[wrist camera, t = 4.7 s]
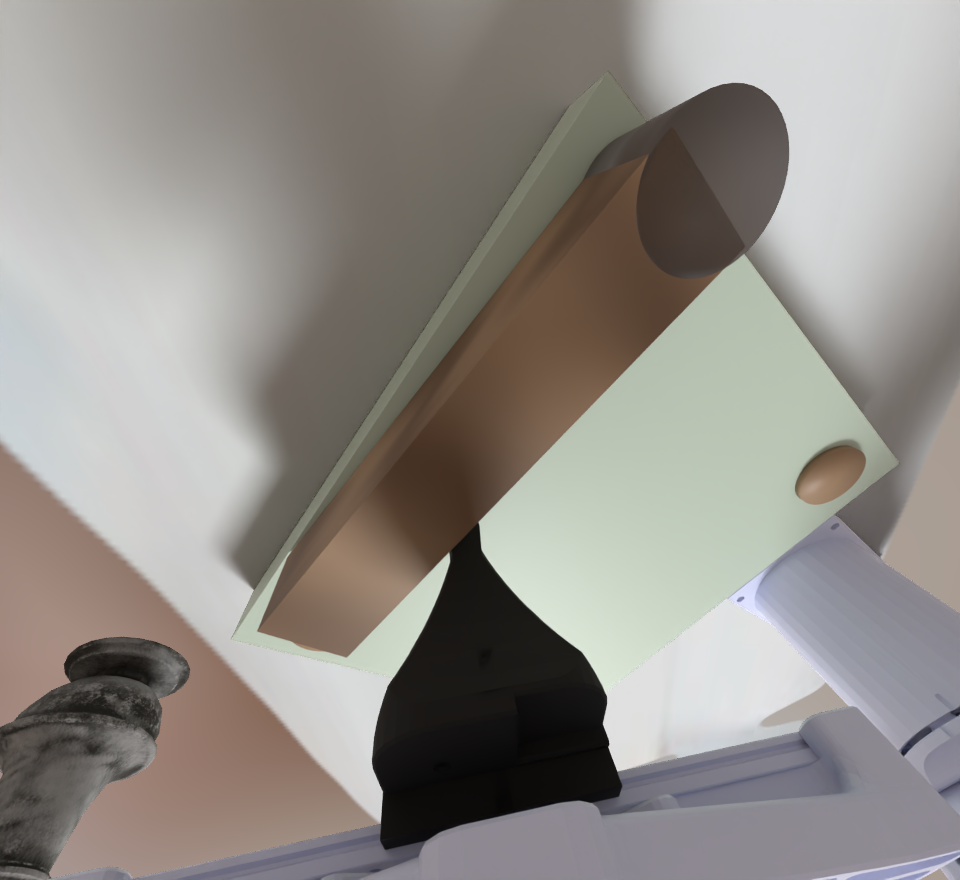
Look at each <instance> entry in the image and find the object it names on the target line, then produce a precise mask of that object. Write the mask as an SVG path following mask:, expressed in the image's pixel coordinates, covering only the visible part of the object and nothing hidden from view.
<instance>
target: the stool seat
mask: <svg viewBox="0 0 960 880" xmlns="http://www.w3.org/2000/svg"><path fill="white" fill-rule="evenodd" d="M644 123H646V121H645V119H644V118H643V117H642V115H641V114H640V113H639V111H638V110H637V109H636V107H635V106H634V105H633V103H632V102H631V101H630V99H629V98H628V97H627V95H626V94H625V92H624V91H623V90H622V88H621V87H620V86H619V84H618V83H617V82H616V80H615V79H614V78H613V76H612V75H611V74H610V72H609V71H607V72H606V73H605V74H604V75H603V76H602V77H601V78H600V79H598V80H597V81H596V82H595V83H594V84H593V85H592V86H591V87H590V88H588V89H587V90H586V91H585V92H584V93H583V94H582V95H581V96H580V97H579V98H577V99H576V100H575V101H574V102H573V103H572V104H571V105H570V106H569V107H568V108H567V110H566V111H565V113H564V115H563V116H562V118H561V119H560V121H559V122H558V124H557V125H556V127H555V128H554V130H553V131H552V133H551V135H550V136H549V138H548V139H547V141H546V142H545V144H544V145H543V147H542V148H541V150H540V151H539V153H538V154H537V156H536V158H535V159H534V161H533V162H532V164H531V165H530V167H529V168H528V170H527V171H526V173H525V174H524V176H523V178H522V179H521V181H520V182H519V184H518V185H517V187H516V188H515V190H514V191H513V193H512V194H511V196H510V198H509V199H508V201H507V202H506V204H505V205H504V207H503V208H502V210H501V211H500V213H499V214H498V216H497V218H496V219H495V221H494V222H493V224H492V225H491V227H490V228H489V230H488V231H487V233H486V234H485V236H484V238H483V239H482V241H481V242H480V244H479V245H478V247H477V248H476V250H475V251H474V253H473V254H472V256H471V257H470V259H469V261H468V262H467V264H466V265H465V267H464V268H463V270H462V271H461V273H460V274H459V276H458V277H457V279H456V281H455V282H454V284H453V285H452V287H451V288H450V290H449V291H448V293H447V294H446V296H445V297H444V299H443V301H442V302H441V304H440V305H439V307H438V308H437V310H436V311H435V313H434V314H433V316H432V317H431V319H430V321H429V322H428V324H427V325H426V327H425V328H424V330H423V331H422V333H421V334H420V336H419V337H418V339H417V340H416V342H415V344H414V345H413V347H412V348H411V350H410V351H409V353H408V354H407V356H406V357H405V359H404V360H403V362H402V364H401V365H400V367H399V368H398V370H397V371H396V373H395V374H394V376H393V377H392V379H391V380H390V382H389V384H388V385H387V387H386V388H385V390H384V391H383V393H382V394H381V396H380V397H379V399H378V400H377V402H376V404H375V405H374V407H373V408H372V410H371V411H370V413H369V414H368V416H367V417H366V419H365V420H364V422H363V424H362V425H361V427H360V428H359V430H358V431H357V433H356V434H355V436H354V437H353V439H352V440H351V442H350V443H349V445H348V447H347V448H346V450H345V451H344V453H343V454H342V456H341V457H340V459H339V460H338V462H337V463H336V465H335V467H334V468H333V470H332V471H331V473H330V474H329V476H328V477H327V479H326V480H325V482H324V483H323V485H322V487H321V488H320V490H319V491H318V493H317V494H316V496H315V497H314V499H313V500H312V502H311V503H310V505H309V507H308V508H307V510H306V511H305V513H304V514H303V516H302V517H301V519H300V520H299V522H298V523H297V525H296V526H295V528H294V530H293V531H292V533H291V534H290V536H289V537H288V539H287V540H286V542H285V543H284V545H283V546H282V548H281V550H280V551H279V553H278V554H277V556H276V557H275V559H274V560H273V562H272V563H271V565H270V566H269V568H268V570H267V571H266V573H265V574H264V576H263V577H262V579H261V580H260V582H259V583H258V585H257V586H256V588H255V590H254V591H253V593H252V595H251V598H250V600H249V602H248V604H247V606H246V608H245V610H244V613H243V615H242V617H241V619H240V621H239V623H238V625H237V628H236V630H235V632H234V634H233V636H232V638H231V640H233V641H237V642H242V643H246V644H250V645H254V646H259V647H263V648H267V649H272V650H276V651H280V652H284V653H289V654H293V655H297V656H302V657H306V658H310V659H314V660H319V661H323V662H327V663H331V664H336V665H340V666H344V667H349V668H353V669H357V670H361V671H366V672H370V673H374V674H378V675H383V676H387V677H391V678H394V676H395V675H396V673H397V672H398V670H399V669H400V667H401V666H402V664H403V663H404V661H405V659H406V658H407V656H408V655H409V653H410V651H411V649H412V648H413V646H414V644H415V642H416V640H417V639H418V637H419V635H420V633H421V632H422V630H423V628H424V626H425V624H426V622H427V620H428V618H429V616H430V613H431V611H432V609H433V607H434V605H435V603H436V600H437V598H438V595H439V593H440V590H441V588H442V585H443V582H444V579H445V576H446V573H447V570H448V567H449V563H450V556H449V553H448V554H447V555H446V556H445V557H444V558H443V559H442V560H441V561H440V562H439V563H438V564H437V565H436V566H435V567H434V569H433V570H432V571H431V572H430V573H429V574H428V575H427V576H426V577H425V578H424V579H423V580H422V581H421V582H420V583H419V584H418V585H417V586H416V587H415V588H414V589H413V590H412V591H411V592H410V593H409V594H408V595H407V596H406V597H405V598H404V599H403V600H402V601H401V602H400V604H399V605H398V606H397V607H396V608H395V609H394V610H393V611H392V612H391V613H390V614H389V615H388V616H387V617H386V618H385V619H384V620H383V621H382V622H381V623H380V624H379V625H378V626H377V627H376V628H375V629H374V630H373V631H372V632H371V633H370V634H369V635H368V636H367V638H366V639H365V640H364V641H363V642H362V643H361V644H360V645H359V646H358V647H357V648H356V649H355V650H354V651H353V652H352V653H351V654H350V655H349V656H348V657H347V658H346V657H342V656H339V655H335V654H332V653H329V652H325V651H322V650H318V649H315V648H311V647H308V646H305V645H301V644H298V643H294V642H291V641H287V640H284V639H281V638H277V637H274V636H270V635H267V634H263V633H260V632H257V630H258V628H259V625H260V623H261V620H262V618H263V615H264V613H265V611H266V608H267V606H268V603H269V601H270V598H271V596H272V593H273V591H274V589H275V586H276V584H277V581H278V579H279V576H280V574H281V571H282V569H283V566H284V564H285V562H286V559H287V557H288V556H289V554H290V553H291V552H292V550H293V549H294V548H295V547H296V545H297V544H298V543H299V542H300V540H301V539H302V538H303V536H304V535H305V534H306V533H307V531H308V530H309V529H310V528H311V526H312V525H313V524H314V522H315V521H316V520H317V519H318V517H319V516H320V515H321V514H322V512H323V511H324V510H325V508H326V507H327V506H328V505H329V503H330V502H331V501H332V499H333V498H334V497H335V496H336V494H337V493H338V492H339V491H340V489H341V488H342V487H343V485H344V484H345V483H346V482H347V480H348V479H349V478H350V477H351V475H352V474H353V473H354V471H355V470H356V469H357V468H358V466H359V465H360V464H361V463H362V461H363V460H364V459H365V457H366V456H367V455H368V454H369V452H370V451H371V450H372V449H373V447H374V446H375V445H376V443H377V442H378V441H379V440H380V438H381V437H382V436H383V434H384V433H385V432H386V431H387V429H388V428H389V427H390V426H391V424H392V423H393V422H394V420H395V419H396V418H397V417H398V415H399V414H400V413H401V412H402V410H403V409H404V408H405V406H406V405H407V404H408V403H409V401H410V400H411V399H412V398H413V396H414V395H415V394H416V392H417V391H418V390H419V389H420V387H421V386H422V385H423V384H424V382H425V381H426V380H427V378H428V377H429V376H430V375H431V373H432V372H433V371H434V369H435V368H436V367H437V366H438V364H439V363H440V362H441V361H442V359H443V358H444V357H445V355H446V354H447V353H448V352H449V350H450V349H451V348H452V347H453V345H454V344H455V343H456V341H457V340H458V339H459V338H460V336H461V335H462V334H463V333H464V331H465V330H466V329H467V327H468V326H469V325H470V324H471V322H472V321H473V320H474V318H475V317H476V316H477V315H478V313H479V312H480V311H481V310H482V308H483V307H484V306H485V304H486V303H487V302H488V301H489V299H490V298H491V297H492V296H493V294H494V293H495V292H496V290H497V289H498V288H499V287H500V285H501V284H502V283H503V282H504V280H505V279H506V278H507V276H508V275H509V274H510V273H511V271H512V270H513V269H514V268H515V266H516V265H517V264H518V262H519V261H520V260H521V259H522V257H523V256H524V255H525V253H526V252H527V251H528V250H529V248H530V247H531V246H532V245H533V243H534V242H535V241H536V239H537V238H538V237H539V236H540V234H541V233H542V232H543V231H544V229H545V228H546V227H547V225H548V224H549V223H550V222H551V220H552V219H553V218H554V217H555V215H556V214H557V213H558V211H559V210H560V209H561V208H562V206H563V205H564V204H565V203H566V201H567V200H568V199H569V197H570V196H571V195H572V194H573V192H574V191H575V190H576V188H577V187H578V186H579V185H580V183H581V182H582V181H583V180H584V177H585V175H586V173H587V171H588V169H589V167H590V165H591V164H592V162H593V161H594V159H595V158H596V157H597V155H598V154H599V153H600V152H601V151H602V150H603V149H604V148H605V147H606V146H607V145H608V144H609V143H611V142H612V141H614V140H615V139H616V138H618V137H620V136H622V135H624V134H625V133H627V132H629V131H631V130H633V129H635V128H637V127H639V126H640V125H642V124H644ZM898 464H899V462H898V460H897V459H896V458H895V456H894V455H893V454H892V452H891V451H890V450H889V448H888V447H887V446H886V444H885V443H884V442H883V440H882V439H881V438H880V436H879V435H878V433H877V432H876V431H875V429H874V428H873V427H872V425H871V424H870V423H869V421H868V420H867V419H866V417H865V416H864V415H863V413H862V412H861V411H860V409H859V408H858V407H857V405H856V404H855V402H854V401H853V400H852V398H851V397H850V396H849V394H848V393H847V392H846V390H845V389H844V388H843V386H842V385H841V384H840V382H839V381H838V380H837V378H836V377H835V376H834V374H833V373H832V371H831V370H830V369H829V367H828V366H827V365H826V363H825V362H824V361H823V359H822V358H821V357H820V355H819V354H818V353H817V351H816V350H815V349H814V347H813V346H812V345H811V343H810V342H809V340H808V339H807V338H806V336H805V335H804V334H803V332H802V331H801V330H800V328H799V327H798V326H797V324H796V323H795V322H794V320H793V319H792V318H791V316H790V315H789V314H788V312H787V311H786V309H785V308H784V307H783V305H782V304H781V303H780V301H779V300H778V299H777V297H776V296H775V295H774V293H773V292H772V291H771V289H770V288H769V287H768V285H767V284H766V283H765V281H764V280H763V278H762V277H761V276H760V274H759V273H758V272H757V270H756V269H755V268H754V266H753V265H752V264H751V262H750V261H749V260H748V258H747V257H746V256H745V254H743V255H742V256H741V257H740V258H739V259H737V260H736V261H735V262H734V263H732V264H731V265H729V266H728V267H726V268H725V269H724V270H723V271H722V272H721V273H720V274H719V275H718V276H717V277H716V278H715V279H714V280H713V281H712V282H711V283H710V284H709V285H708V286H707V287H706V288H705V289H704V290H703V291H702V292H701V293H700V294H699V296H698V297H697V298H696V299H695V300H694V301H693V302H692V303H691V304H690V305H689V306H688V307H687V308H686V309H685V310H684V311H683V312H682V313H681V314H680V315H679V316H678V317H677V318H676V319H675V320H674V321H673V322H672V323H671V324H670V325H669V326H668V327H667V328H666V330H665V331H664V332H663V333H662V334H661V335H660V336H659V337H658V338H657V339H656V340H655V341H654V342H653V343H652V344H651V345H650V346H649V347H648V348H647V349H646V350H645V351H644V352H643V353H642V354H641V355H640V356H639V357H638V358H637V359H636V360H635V361H634V362H633V364H632V365H631V366H630V367H629V368H628V369H627V370H626V371H625V372H624V373H623V374H622V375H621V376H620V377H619V378H618V379H617V380H616V381H615V382H614V383H613V384H612V385H611V386H610V387H609V388H608V389H607V390H606V391H605V392H604V393H603V394H602V395H601V396H600V398H599V399H598V400H597V401H596V402H595V403H594V404H593V405H592V406H591V407H590V408H589V409H588V410H587V411H586V412H585V413H584V414H583V415H582V416H581V417H580V418H579V419H578V420H577V421H576V422H575V423H574V424H573V425H572V426H571V427H570V428H569V429H568V430H567V431H566V433H565V434H564V435H563V436H562V437H561V438H560V439H559V440H558V441H557V442H556V443H555V444H554V445H553V446H552V447H551V448H550V449H549V450H548V451H547V452H546V453H545V454H544V455H543V456H542V457H541V458H540V459H539V460H538V461H537V462H536V463H535V464H534V465H533V467H532V468H531V469H530V470H529V471H528V472H527V473H526V474H525V475H524V476H523V477H522V478H521V479H520V480H519V481H518V482H517V483H516V484H515V485H514V486H513V487H512V488H511V489H510V490H509V491H508V492H507V493H506V494H505V495H504V496H503V497H502V498H501V499H500V501H499V502H498V503H497V504H496V505H495V506H494V507H493V508H492V509H491V510H490V511H489V512H488V513H487V514H486V515H485V516H484V517H483V518H482V519H481V520H480V521H479V526H480V537H481V549H482V551H483V553H484V555H485V556H486V558H487V559H488V561H489V562H490V563H491V565H492V566H493V568H494V569H495V570H496V572H497V573H498V574H499V575H500V577H501V578H502V579H503V581H504V582H505V583H506V584H507V585H508V586H509V588H510V589H511V590H512V591H513V592H514V593H515V594H516V595H517V596H518V597H519V599H520V600H521V601H522V602H523V603H524V604H525V605H526V606H527V607H528V608H529V609H531V610H532V611H533V612H534V613H535V614H536V615H537V616H538V617H539V618H540V619H541V620H542V621H543V622H544V623H546V624H547V625H548V626H549V627H550V628H552V629H553V630H554V631H555V632H556V633H557V634H559V635H560V636H561V637H563V638H564V639H565V640H566V641H568V642H569V643H570V644H572V645H573V646H574V647H576V648H577V649H579V650H580V651H581V652H582V653H583V654H584V656H585V657H586V659H587V660H588V662H589V663H590V665H591V666H592V668H593V670H594V671H595V673H596V675H597V677H598V678H599V680H600V682H601V684H602V686H603V688H604V691H605V693H606V692H607V691H609V690H610V689H611V688H613V687H614V686H615V685H616V684H618V683H619V682H620V681H622V680H623V679H624V678H625V677H627V676H628V675H629V674H630V673H632V672H633V671H634V670H636V669H637V668H638V667H639V666H641V665H642V664H643V663H645V662H646V661H647V660H648V659H650V658H651V657H652V656H654V655H655V654H656V653H657V652H659V651H660V650H661V649H662V648H664V647H665V646H666V645H668V644H669V643H670V642H671V641H673V640H674V639H675V638H677V637H678V636H679V635H680V634H682V633H683V632H684V631H686V630H687V629H688V628H689V627H691V626H692V625H693V624H695V623H696V622H697V621H698V620H700V619H701V618H702V617H703V616H705V615H706V614H707V613H709V612H710V611H711V610H712V609H714V608H715V607H716V606H718V605H719V604H720V603H721V602H723V601H724V600H725V599H727V598H728V597H729V596H730V595H732V594H733V593H734V592H735V591H737V590H738V589H739V588H741V587H742V586H743V585H744V584H746V583H747V582H748V581H750V580H751V579H752V578H753V577H755V576H756V575H757V574H759V573H760V572H761V571H762V570H764V569H765V568H766V567H767V566H769V565H770V564H771V563H773V562H774V561H775V560H776V559H778V558H779V557H780V556H782V555H783V554H784V553H785V552H787V551H788V550H789V549H791V548H792V547H793V546H794V545H796V544H797V543H798V542H799V541H801V540H802V539H803V538H805V537H806V536H807V535H808V534H810V533H811V532H812V531H814V530H815V529H816V528H817V527H819V526H820V525H821V524H823V523H824V522H825V521H826V520H828V519H829V518H830V517H831V516H833V515H834V514H835V513H837V512H838V511H839V510H840V509H842V508H843V507H844V506H846V505H847V504H848V503H849V502H851V501H852V500H853V499H855V498H856V497H857V496H858V495H860V494H861V493H862V492H863V491H865V490H866V489H867V488H869V487H870V486H871V485H872V484H874V483H875V482H876V481H878V480H879V479H880V478H881V477H883V476H884V475H885V474H887V473H888V472H889V471H890V470H892V469H893V468H894V467H896V466H897V465H898Z"/></svg>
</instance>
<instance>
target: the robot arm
mask: <svg viewBox="0 0 960 880" xmlns="http://www.w3.org/2000/svg"><path fill="white" fill-rule="evenodd" d="M449 556H450V563H449V567H448V570H447V573H446V576H445V579H444V582H443V585H442V588H441V590H440V593H439V595H438V598H437V600H436V603H435V605H434V607H433V609H432V611H431V613H430V616H429V618H428V620H427V622H426V624H425V626H424V628H423V630H422V632H421V633H420V635H419V637H418V639H417V640H416V642H415V644H414V646H413V648H412V649H411V651H410V653H409V655H408V656H407V658H406V659H405V661H404V663H403V664H402V666H401V667H400V669H399V670H398V672H397V673H396V675H395V676H394V678H393V679H392V681H391V682H390V684H389V685H388V687H387V690H386V693H385V696H384V699H383V702H382V706H381V709H380V713H379V716H378V720H377V725H376V730H375V736H374V745H373V756H372V765H373V770H374V772H375V775H376V777H377V779H378V782H379V784H380V786H381V788H382V791H383V801H382V816H381V824H378V825H373V826H369V827H364V828H360V829H355V830H351V831H346V832H342V833H338V834H332V835H328V836H323V837H319V838H315V839H310V840H306V841H301V842H296V843H292V844H287V845H283V846H279V847H273V848H269V849H265V850H260V851H255V852H251V853H247V854H242V855H237V856H233V857H228V858H224V859H219V860H214V861H210V862H206V863H201V864H197V865H192V866H188V867H183V868H178V869H174V870H169V871H165V872H160V873H155V874H151V875H147V876H142V877H137V878H132V876H131V874H130V873H129V872H127V871H126V870H124V869H121V868H117V867H106V868H98V869H93V870H88V871H84V872H79V873H74V874H70V875H65V876H61V877H56V878H51V879H48V880H920V879H922V878H924V877H925V876H927V875H929V874H931V873H932V872H934V871H936V870H938V869H939V868H940V869H941V870H942V872H943V873H944V874H945V876H946V877H947V878H948V879H949V880H960V613H958V612H957V611H956V610H954V609H953V608H951V607H950V606H948V605H947V604H945V603H944V602H942V601H941V600H939V599H938V598H936V597H935V596H933V595H932V594H930V593H929V592H927V591H926V590H924V589H923V588H921V587H920V586H918V585H917V584H915V583H914V582H912V581H911V580H909V579H908V578H906V577H905V576H903V575H902V574H901V573H899V572H898V571H896V570H895V569H893V568H892V567H890V566H889V565H887V564H886V563H885V562H884V561H883V560H882V559H881V558H880V557H879V556H878V555H877V554H876V553H875V552H874V551H873V550H872V549H871V548H870V547H869V546H868V545H867V544H866V543H864V542H863V541H862V540H861V539H860V538H859V537H858V536H857V535H856V534H855V533H854V532H853V531H852V530H851V529H850V528H849V527H848V526H847V525H846V524H845V523H844V522H843V521H842V520H841V519H840V518H839V517H837V516H836V515H833V516H831V517H830V518H829V519H828V520H826V521H825V522H824V523H823V524H821V525H820V526H819V527H817V528H816V529H815V530H814V531H812V532H811V533H810V534H808V535H807V536H806V537H805V538H803V539H802V540H801V541H799V542H798V543H797V544H796V545H794V546H793V547H792V548H791V549H789V550H788V551H787V552H785V553H784V554H783V555H782V556H780V557H779V558H778V559H776V560H775V561H774V562H773V563H771V564H770V565H769V566H767V567H766V568H765V569H764V570H762V571H761V572H760V573H759V574H757V575H756V576H755V577H753V578H752V579H751V580H750V581H748V582H747V583H746V584H744V585H743V586H742V587H741V588H739V589H738V590H737V591H735V592H734V593H733V594H732V595H730V596H729V597H728V599H729V601H731V602H733V603H734V604H736V605H738V606H740V607H741V608H743V609H745V610H747V611H748V612H750V613H752V614H754V615H755V616H757V617H759V618H761V619H763V620H764V621H766V622H768V623H770V624H771V625H772V626H773V627H774V628H775V629H776V630H777V631H778V632H779V633H780V634H781V635H782V636H783V637H784V638H785V639H786V640H787V641H788V642H789V643H790V645H791V646H792V647H793V648H794V649H795V650H796V651H797V652H798V653H799V654H800V655H801V656H802V657H803V658H804V659H805V660H806V661H807V663H808V664H809V665H810V666H811V667H812V668H813V669H814V670H815V671H816V672H817V673H818V674H819V675H820V676H821V677H822V678H823V679H824V681H825V682H826V683H827V684H828V685H829V686H830V687H831V688H832V689H833V690H834V691H835V692H836V693H837V694H838V695H839V696H840V697H841V699H842V700H843V701H844V702H845V703H846V704H847V705H848V706H849V707H845V708H840V709H835V710H831V711H826V712H821V713H818V714H815V715H812V716H811V717H809V718H807V719H806V720H805V721H804V722H803V723H802V725H801V726H800V728H799V732H795V733H791V734H786V735H782V736H777V737H773V738H768V739H764V740H759V741H755V742H750V743H745V744H741V745H736V746H732V747H727V748H723V749H718V750H714V751H709V752H705V753H700V754H696V755H691V756H686V757H682V758H677V759H673V760H668V761H664V762H660V763H655V764H650V765H646V766H641V767H637V768H632V769H627V770H623V771H618V772H617V770H616V767H615V764H614V762H613V759H612V756H611V754H610V751H609V748H608V746H609V740H608V737H607V734H606V732H605V729H604V726H603V720H604V715H605V711H606V706H607V696H606V694H605V691H604V688H603V686H602V684H601V682H600V680H599V678H598V677H597V675H596V673H595V671H594V670H593V668H592V666H591V665H590V663H589V662H588V660H587V659H586V657H585V656H584V654H583V653H582V652H581V651H580V650H579V649H577V648H576V647H574V646H573V645H572V644H570V643H569V642H568V641H566V640H565V639H564V638H563V637H561V636H560V635H559V634H557V633H556V632H555V631H554V630H553V629H552V628H550V627H549V626H548V625H547V624H546V623H544V622H543V621H542V620H541V619H540V618H539V617H538V616H537V615H536V614H535V613H534V612H533V611H532V610H531V609H529V608H528V607H527V606H526V605H525V604H524V603H523V602H522V601H521V600H520V599H519V597H518V596H517V595H516V594H515V593H514V592H513V591H512V590H511V589H510V588H509V586H508V585H507V584H506V583H505V582H504V581H503V579H502V578H501V577H500V575H499V574H498V573H497V572H496V570H495V569H494V568H493V566H492V565H491V563H490V562H489V561H488V559H487V558H486V556H485V555H484V553H483V551H482V549H481V537H480V526H479V522H478V523H477V524H476V525H475V526H474V527H473V528H472V529H471V530H470V531H469V532H468V533H467V535H466V536H465V537H464V538H463V539H462V540H461V541H460V542H459V543H458V544H457V545H456V546H455V547H454V548H453V549H452V550H451V551H450V552H449Z"/></svg>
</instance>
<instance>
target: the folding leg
mask: <svg viewBox="0 0 960 880" xmlns="http://www.w3.org/2000/svg"><path fill="white" fill-rule="evenodd" d="M788 163H789V140H788V133H787V128H786V124H785V121H784V119H783V116H782V113H781V112H780V110H779V108H778V106H777V105H776V103H775V102H774V101H773V100H772V98H771V97H770V96H769V95H767V94H766V93H765V92H764V91H762V90H760V89H758V88H757V87H755V86H752V85H748V84H744V83H729V84H722V85H719V86H716V87H713V88H710V89H708V90H706V91H704V92H702V93H700V94H699V95H697V96H695V97H693V98H691V99H689V100H687V101H685V102H684V103H682V104H680V105H678V106H676V107H674V108H672V109H670V110H669V111H667V112H665V113H663V114H661V115H659V116H657V117H655V118H654V119H652V120H650V121H648V122H646V123H644V124H642V125H640V126H639V127H637V128H635V129H633V130H631V131H629V132H627V133H625V134H624V135H622V136H620V137H618V138H616V139H615V140H614V141H612V142H611V143H609V144H608V145H607V146H606V147H605V148H604V149H603V150H602V151H601V152H600V153H599V154H598V155H597V157H596V158H595V159H594V161H593V162H592V164H591V165H590V167H589V169H588V171H587V173H586V175H585V177H584V180H583V181H582V182H581V183H580V185H579V186H578V187H577V188H576V190H575V191H574V192H573V194H572V195H571V196H570V197H569V199H568V200H567V201H566V203H565V204H564V205H563V206H562V208H561V209H560V210H559V211H558V213H557V214H556V215H555V217H554V218H553V219H552V220H551V222H550V223H549V224H548V225H547V227H546V228H545V229H544V231H543V232H542V233H541V234H540V236H539V237H538V238H537V239H536V241H535V242H534V243H533V245H532V246H531V247H530V248H529V250H528V251H527V252H526V253H525V255H524V256H523V257H522V259H521V260H520V261H519V262H518V264H517V265H516V266H515V268H514V269H513V270H512V271H511V273H510V274H509V275H508V276H507V278H506V279H505V280H504V282H503V283H502V284H501V285H500V287H499V288H498V289H497V290H496V292H495V293H494V294H493V296H492V297H491V298H490V299H489V301H488V302H487V303H486V304H485V306H484V307H483V308H482V310H481V311H480V312H479V313H478V315H477V316H476V317H475V318H474V320H473V321H472V322H471V324H470V325H469V326H468V327H467V329H466V330H465V331H464V333H463V334H462V335H461V336H460V338H459V339H458V340H457V341H456V343H455V344H454V345H453V347H452V348H451V349H450V350H449V352H448V353H447V354H446V355H445V357H444V358H443V359H442V361H441V362H440V363H439V364H438V366H437V367H436V368H435V369H434V371H433V372H432V373H431V375H430V376H429V377H428V378H427V380H426V381H425V382H424V384H423V385H422V386H421V387H420V389H419V390H418V391H417V392H416V394H415V395H414V396H413V398H412V399H411V400H410V401H409V403H408V404H407V405H406V406H405V408H404V409H403V410H402V412H401V413H400V414H399V415H398V417H397V418H396V419H395V420H394V422H393V423H392V424H391V426H390V427H389V428H388V429H387V431H386V432H385V433H384V434H383V436H382V437H381V438H380V440H379V441H378V442H377V443H376V445H375V446H374V447H373V449H372V450H371V451H370V452H369V454H368V455H367V456H366V457H365V459H364V460H363V461H362V463H361V464H360V465H359V466H358V468H357V469H356V470H355V471H354V473H353V474H352V475H351V477H350V478H349V479H348V480H347V482H346V483H345V484H344V485H343V487H342V488H341V489H340V491H339V492H338V493H337V494H336V496H335V497H334V498H333V499H332V501H331V502H330V503H329V505H328V506H327V507H326V508H325V510H324V511H323V512H322V514H321V515H320V516H319V517H318V519H317V520H316V521H315V522H314V524H313V525H312V526H311V528H310V529H309V530H308V531H307V533H306V534H305V535H304V536H303V538H302V539H301V540H300V542H299V543H298V544H297V545H296V547H295V548H294V549H293V550H292V552H291V553H290V554H289V556H288V557H287V559H286V562H285V564H284V566H283V569H282V571H281V574H280V576H279V579H278V581H277V584H276V586H275V589H274V591H273V593H272V596H271V598H270V601H269V603H268V606H267V608H266V611H265V613H264V615H263V618H262V620H261V623H260V625H259V628H258V630H257V632H260V633H263V634H267V635H270V636H274V637H277V638H281V639H284V640H287V641H291V642H294V643H298V644H301V645H305V646H308V647H311V648H315V649H318V650H322V651H325V652H329V653H332V654H335V655H339V656H342V657H346V658H347V657H348V656H349V655H350V654H351V653H352V652H353V651H354V650H355V649H356V648H357V647H358V646H359V645H360V644H361V643H362V642H363V641H364V640H365V639H366V638H367V636H368V635H369V634H370V633H371V632H372V631H373V630H374V629H375V628H376V627H377V626H378V625H379V624H380V623H381V622H382V621H383V620H384V619H385V618H386V617H387V616H388V615H389V614H390V613H391V612H392V611H393V610H394V609H395V608H396V607H397V606H398V605H399V604H400V602H401V601H402V600H403V599H404V598H405V597H406V596H407V595H408V594H409V593H410V592H411V591H412V590H413V589H414V588H415V587H416V586H417V585H418V584H419V583H420V582H421V581H422V580H423V579H424V578H425V577H426V576H427V575H428V574H429V573H430V572H431V571H432V570H433V569H434V567H435V566H436V565H437V564H438V563H439V562H440V561H441V560H442V559H443V558H444V557H445V556H446V555H447V554H448V553H449V552H450V551H451V550H452V549H453V548H454V547H455V546H456V545H457V544H458V543H459V542H460V541H461V540H462V539H463V538H464V537H465V536H466V535H467V533H468V532H469V531H470V530H471V529H472V528H473V527H474V526H475V525H476V524H477V523H478V522H479V521H480V520H481V519H482V518H483V517H484V516H485V515H486V514H487V513H488V512H489V511H490V510H491V509H492V508H493V507H494V506H495V505H496V504H497V503H498V502H499V501H500V499H501V498H502V497H503V496H504V495H505V494H506V493H507V492H508V491H509V490H510V489H511V488H512V487H513V486H514V485H515V484H516V483H517V482H518V481H519V480H520V479H521V478H522V477H523V476H524V475H525V474H526V473H527V472H528V471H529V470H530V469H531V468H532V467H533V465H534V464H535V463H536V462H537V461H538V460H539V459H540V458H541V457H542V456H543V455H544V454H545V453H546V452H547V451H548V450H549V449H550V448H551V447H552V446H553V445H554V444H555V443H556V442H557V441H558V440H559V439H560V438H561V437H562V436H563V435H564V434H565V433H566V431H567V430H568V429H569V428H570V427H571V426H572V425H573V424H574V423H575V422H576V421H577V420H578V419H579V418H580V417H581V416H582V415H583V414H584V413H585V412H586V411H587V410H588V409H589V408H590V407H591V406H592V405H593V404H594V403H595V402H596V401H597V400H598V399H599V398H600V396H601V395H602V394H603V393H604V392H605V391H606V390H607V389H608V388H609V387H610V386H611V385H612V384H613V383H614V382H615V381H616V380H617V379H618V378H619V377H620V376H621V375H622V374H623V373H624V372H625V371H626V370H627V369H628V368H629V367H630V366H631V365H632V364H633V362H634V361H635V360H636V359H637V358H638V357H639V356H640V355H641V354H642V353H643V352H644V351H645V350H646V349H647V348H648V347H649V346H650V345H651V344H652V343H653V342H654V341H655V340H656V339H657V338H658V337H659V336H660V335H661V334H662V333H663V332H664V331H665V330H666V328H667V327H668V326H669V325H670V324H671V323H672V322H673V321H674V320H675V319H676V318H677V317H678V316H679V315H680V314H681V313H682V312H683V311H684V310H685V309H686V308H687V307H688V306H689V305H690V304H691V303H692V302H693V301H694V300H695V299H696V298H697V297H698V296H699V294H700V293H701V292H702V291H703V290H704V289H705V288H706V287H707V286H708V285H709V284H710V283H711V282H712V281H713V280H714V279H715V278H716V277H717V276H718V275H719V274H720V273H721V272H722V271H723V270H724V269H725V268H726V267H728V266H729V265H731V264H732V263H734V262H735V261H736V260H737V259H739V258H740V257H741V256H742V255H743V254H744V253H745V252H746V251H747V250H748V249H749V248H750V247H751V246H752V245H753V244H754V243H755V242H756V240H757V239H758V238H759V236H760V235H761V234H762V232H763V231H764V229H765V228H766V226H767V224H768V223H769V221H770V219H771V218H772V216H773V214H774V212H775V210H776V207H777V205H778V203H779V200H780V198H781V195H782V191H783V188H784V185H785V181H786V176H787V171H788Z"/></svg>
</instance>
